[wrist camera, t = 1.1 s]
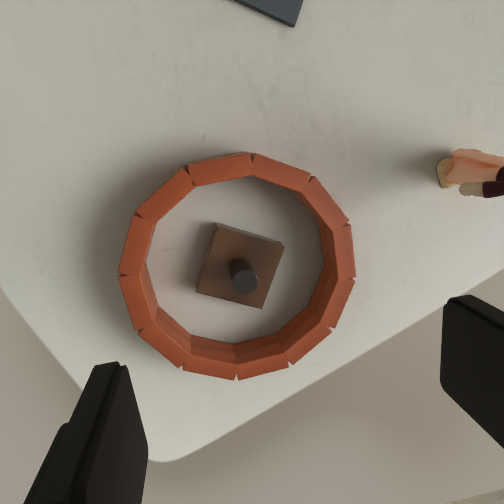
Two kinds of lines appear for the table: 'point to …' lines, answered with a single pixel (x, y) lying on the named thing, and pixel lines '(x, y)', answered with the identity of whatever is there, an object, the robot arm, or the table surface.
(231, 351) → the hoop
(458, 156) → the grandmother figurine
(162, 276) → the table surface
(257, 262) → the post
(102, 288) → the table surface
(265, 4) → the mat
